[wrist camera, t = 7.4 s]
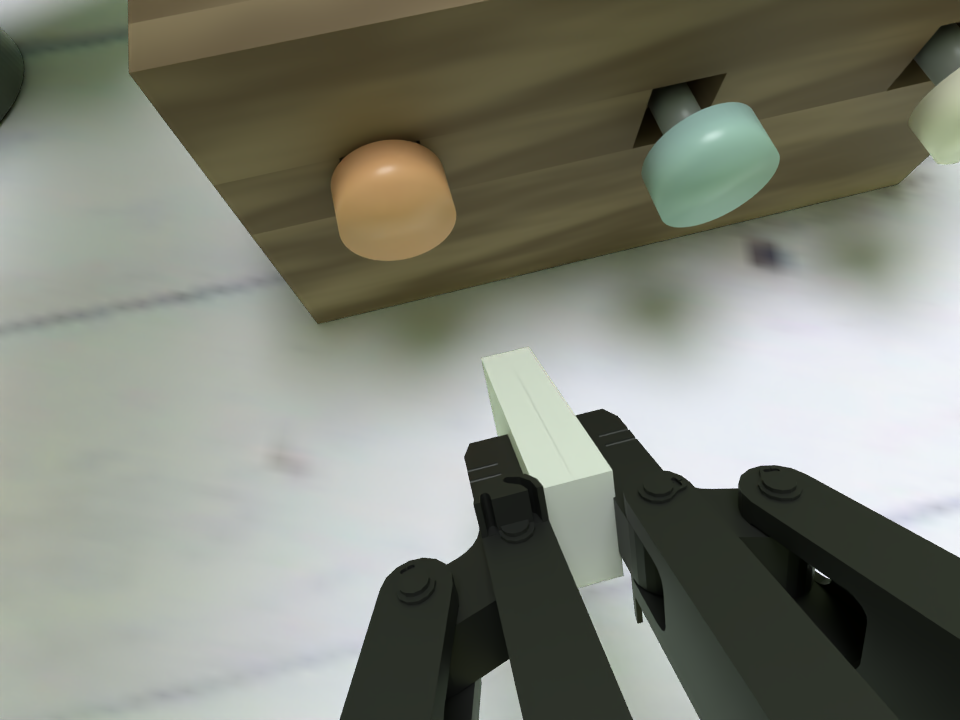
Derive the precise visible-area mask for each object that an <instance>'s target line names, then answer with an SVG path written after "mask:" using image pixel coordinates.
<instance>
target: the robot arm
mask: <svg viewBox="0 0 960 720" xmlns="http://www.w3.org/2000/svg"><path fill="white" fill-rule="evenodd" d="M23 75H24V64H23V58H22V55H21V53H20V50H19V48H18V47H17V45H16V44H15V43H14V42H13V40H12V39H11V38H10V37H9V36H8V35H7V34H6V33H5V32H4V31H3V30H2V29H1V28H0V121H1V119H2V118H3V117H4V116H5V115H6V113H7V112H8V110H9V109H10V108H11V106H12V104H13V103H14V101H15V99H16V97H17V95H18V93H19V91H20V88H21V85H22V81H23ZM481 359H482V364H483V369H484V374H485V378H486V383H487V388H488V393H489V397H490V402H491V407H492V412H493V417H494V421H495V426H496V431H497V435H498V437H494V438H490V439H486V440H482V441H478V442H474V443H470V444H469V447H468V449H467V452H466V454H465V456H464V458H465V462H466V467H467V471H468V476H469V480H470V485H471V489H472V493H473V498H474V508H475V512H476V516H477V520H478V524H479V534H478V537H477V539H476V541H475V543H474V544H473V546H472V547H471V548H470V549H469V550H468V551H467V552H466V553H465V554H463V555H462V556H460V557H459V558H457V559H456V560H454V561H452V562H450V563H449V564H447V565H446V564H445V563H443V562H441V561H439V560H437V559H431V558H420V559H416V560H411V561H408V562H406V563H405V564H403V565H401V566H399V567H397V568H396V569H395V570H394V571H393V572H392V573H391V574H390V575H389V576H388V577H387V578H386V579H385V581H384V583H383V585H382V587H381V589H380V591H379V595H378V598H377V601H376V604H375V607H374V611H373V614H372V617H371V620H370V624H369V627H368V630H367V633H366V636H365V640H364V643H363V646H362V649H361V653H360V656H359V659H358V662H357V665H356V669H355V672H354V675H353V678H352V682H351V685H350V688H349V691H348V694H347V698H346V701H345V704H344V707H343V711H342V714H341V717H340V720H479V707H480V694H481V677H483V676H484V675H486V674H487V673H489V672H490V671H492V670H493V669H495V668H496V667H498V666H499V665H501V664H502V663H504V662H505V661H507V660H508V659H510V663H511V668H512V672H513V677H514V681H515V685H516V690H517V694H518V699H519V703H520V707H521V712H522V716H523V720H633V719H632V717H631V714H630V712H629V710H628V707H627V705H626V702H625V700H624V698H623V695H622V693H621V690H620V688H619V686H618V683H617V681H616V679H615V676H614V674H613V671H612V669H611V667H610V664H609V662H608V659H607V657H606V655H605V652H604V650H603V648H602V645H601V643H600V640H599V638H598V636H597V633H596V631H595V628H594V626H593V624H592V621H591V619H590V617H589V614H588V612H587V609H586V607H585V605H584V602H583V600H582V597H581V595H580V593H579V590H578V588H581V587H584V586H588V585H592V584H595V583H599V582H602V581H606V580H610V579H613V578H617V577H621V576H624V575H623V565H622V558H623V560H624V562H625V564H626V566H627V567H628V569H629V571H630V573H631V579H632V589H633V600H634V610H635V616H636V620H637V623H641V622H643V619H642V611H643V613H644V615H645V617H646V618H647V620H648V622H649V624H650V626H651V628H652V630H653V632H654V634H655V635H656V637H657V639H658V641H659V643H660V645H661V647H662V649H663V650H664V652H665V654H666V656H667V658H668V660H669V662H670V664H671V665H672V667H673V669H674V671H675V673H676V675H677V677H678V679H679V680H680V682H681V684H682V686H683V688H684V690H685V692H686V694H687V696H688V697H689V699H690V701H691V703H692V705H693V707H694V709H695V711H696V712H697V714H698V716H699V718H700V720H960V558H959V557H957V556H956V555H954V554H952V553H950V552H948V551H946V550H944V549H943V548H941V547H939V546H937V545H935V544H933V543H932V542H930V541H928V540H926V539H924V538H922V537H921V536H919V535H917V534H915V533H913V532H911V531H910V530H908V529H906V528H904V527H902V526H900V525H898V524H897V523H895V522H893V521H891V520H889V519H887V518H886V517H884V516H882V515H880V514H878V513H876V512H875V511H873V510H871V509H869V508H867V507H865V506H864V505H862V504H860V503H858V502H856V501H854V500H852V499H851V498H849V497H847V496H845V495H843V494H841V493H840V492H838V491H836V490H834V489H832V488H830V487H829V486H827V485H825V484H823V483H821V482H819V481H818V480H816V479H814V478H812V477H810V476H808V475H806V474H804V473H802V472H799V471H797V470H794V469H792V468H787V467H782V466H776V465H772V466H759V467H755V468H752V469H749V470H747V471H746V472H745V473H744V474H742V475H741V477H740V480H739V484H738V488H737V489H700V488H695V487H694V486H693V485H692V484H691V483H690V482H689V481H688V480H686V479H685V478H684V477H683V476H681V475H678V474H675V473H673V472H670V471H663V470H662V469H661V467H660V466H659V465H658V464H657V463H656V461H655V460H654V459H653V458H652V457H651V455H650V454H649V453H648V452H647V451H646V449H645V448H644V447H643V446H642V445H641V443H640V442H639V441H638V440H637V439H635V436H634V435H633V434H632V433H631V431H630V430H628V429H627V427H626V425H625V424H624V423H623V422H622V421H621V419H620V418H619V417H618V416H616V415H614V414H612V413H610V412H608V411H606V410H604V409H600V410H596V411H592V412H588V413H584V414H580V415H576V416H575V414H574V413H573V411H572V410H571V408H570V407H569V405H568V404H567V402H566V401H565V399H564V398H563V397H562V395H561V394H560V392H559V391H558V389H557V388H556V386H555V385H554V383H553V382H552V380H551V379H550V377H549V376H548V374H547V373H546V371H545V370H544V368H543V367H542V365H541V364H540V363H539V361H538V360H537V358H536V357H535V355H534V354H533V352H532V351H531V349H530V348H529V347H525V348H521V349H517V350H513V351H509V352H505V353H500V354H496V355H492V356H488V357H484V358H481ZM815 568H816V569H817V570H818V571H820V572H821V573H823V574H824V575H826V576H827V577H828V578H830V579H828V578H826V577H824V576H822V575H820V574H819V573H817V572H816V571H815Z"/></svg>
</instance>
